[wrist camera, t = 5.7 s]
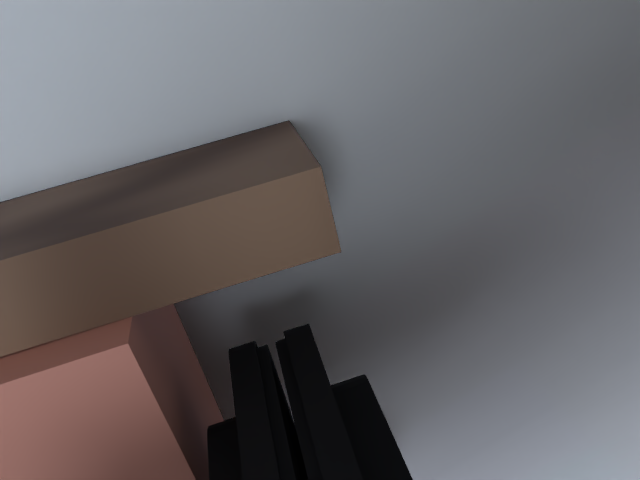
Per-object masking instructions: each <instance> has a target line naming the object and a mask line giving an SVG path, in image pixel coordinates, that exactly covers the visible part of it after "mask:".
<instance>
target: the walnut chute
mask: <svg viewBox="0 0 640 480" xmlns="http://www.w3.org/2000/svg"><path fill="white" fill-rule="evenodd" d="M340 252H341V248H340V244H339V240H338V235H337V231H336V227H335V223H334V219H333V215H332V210H331V206H330V202H329V198H328V194H327V189H326V185H325V181H324V177H323V173H322V169H321V166H320V164H319V163H318V161H317V160H316V159H315V157H314V156H313V154H312V153H311V151H310V150H309V149H308V147H307V146H306V144H305V143H304V141H303V140H302V138H301V137H300V136H299V134H298V133H297V131H296V130H295V128H294V127H293V126H292V124H291V123H290V121H286V122H282V123H279V124H275V125H272V126H268V127H265V128H261V129H258V130H254V131H251V132H247V133H244V134H240V135H237V136H233V137H230V138H226V139H222V140H219V141H215V142H212V143H208V144H205V145H201V146H198V147H194V148H191V149H187V150H184V151H180V152H177V153H173V154H170V155H166V156H163V157H159V158H156V159H152V160H149V161H145V162H142V163H138V164H134V165H131V166H127V167H124V168H120V169H117V170H113V171H110V172H106V173H103V174H99V175H96V176H92V177H89V178H85V179H82V180H78V181H75V182H71V183H68V184H64V185H61V186H57V187H54V188H50V189H46V190H43V191H39V192H36V193H32V194H29V195H25V196H22V197H18V198H15V199H11V200H8V201H4V202H1V203H0V357H2V356H5V355H8V354H11V353H15V352H18V351H21V350H24V349H28V348H31V347H34V346H37V345H41V344H44V343H47V342H50V341H54V340H57V339H60V338H63V337H67V336H70V335H73V334H76V333H80V332H83V331H86V330H89V329H93V328H96V327H99V326H102V325H106V324H109V323H112V322H115V321H119V320H122V319H125V318H128V317H132V316H135V315H138V314H141V313H145V312H148V311H151V310H154V309H158V308H161V307H164V306H167V305H171V304H174V303H177V302H180V301H184V300H187V299H190V298H193V297H197V296H200V295H203V294H206V293H210V292H213V291H216V290H219V289H223V288H226V287H229V286H232V285H236V284H239V283H242V282H245V281H249V280H252V279H255V278H258V277H262V276H265V275H268V274H271V273H275V272H278V271H281V270H284V269H288V268H291V267H294V266H297V265H301V264H304V263H307V262H310V261H314V260H317V259H320V258H323V257H327V256H330V255H333V254H336V253H340Z"/></svg>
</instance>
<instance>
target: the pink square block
mask: <svg viewBox="0 0 640 480" xmlns="http://www.w3.org/2000/svg"><path fill="white" fill-rule="evenodd" d="M222 421H224V419H223V417H222V414H221V412H220V410H219V407H218V405H217V403H216V401H215V398H214V396H213V394H212V391H211V389H210V387H209V384H208V382H207V380H206V377H205V375H204V373H203V371H202V368H201V366H200V364H199V361H198V359H197V357H196V354H195V352H194V350H193V347H192V345H191V343H190V341H189V338H188V336H187V334H186V331H185V329H184V327H183V324H182V322H181V320H180V317H179V315H178V313H177V311H176V308H175V306H174V304H171V305H167V306H164V307H161V308H158V309H154V310H151V311H148V312H145V313H141V314H138V315H135V316H132V317H128V318H125V319H122V320H119V321H115V322H112V323H109V324H106V325H102V326H99V327H96V328H93V329H89V330H86V331H83V332H80V333H76V334H73V335H70V336H67V337H63V338H60V339H57V340H54V341H50V342H47V343H44V344H41V345H37V346H34V347H31V348H28V349H24V350H21V351H18V352H15V353H11V354H8V355H5V356H2V357H0V480H209V468H208V446H207V429H208V426H210V425H213V424H216V423H219V422H222Z"/></svg>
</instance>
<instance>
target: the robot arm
mask: <svg viewBox="0 0 640 480" xmlns="http://www.w3.org/2000/svg"><path fill="white" fill-rule="evenodd" d="M284 336H285V339H283V340H279V341H276V342H275V343H276V348H277V352H278V356H279V360H280V364H281V368H282V373H283V377H284V381H285V385H286V389H287V393H288V398H289V402H290V406H291V410H292V414H293V418H294V421H293V418H292V415H291V412H290V409H289V406H288V403H287V400H286V397H285V394H284V392H283V389H282V386H281V383H280V380H279V377H278V374H277V371H276V368H275V365H274V362H273V359H272V356H271V353H270V351H269V348H268V345H264V346H261V347H257V344H256V342H255V341H253V342H250V343H246V344H243V345H240V346H237V347H234V348H231V349H229V361H230V370H231V379H232V388H233V397H234V406H235V415H236V417H234V418H231V419H228V420H225V421H222V422H219V423H216V424H213V425H210V426H208V429H207V446H208V468H209V480H413V479H412V477H411V475H410V473H409V470H408V468H407V466H406V464H405V461H404V459H403V457H402V455H401V452H400V450H399V448H398V446H397V443H396V441H395V439H394V437H393V435H392V432H391V430H390V428H389V426H388V423H387V421H386V419H385V417H384V414H383V412H382V410H381V408H380V405H379V403H378V401H377V399H376V396H375V394H374V392H373V390H372V388H371V385H370V383H369V381H368V379H367V377H366V375H365V374H364V375H361V376H358V377H355V378H352V379H349V380H346V381H343V382H340V383H337V384H334V385H331V386H330V383H329V380H328V377H327V374H326V371H325V369H324V366H323V363H322V360H321V357H320V354H319V351H318V348H317V346H316V343H315V340H314V337H313V334H312V331H311V328H310V326H309V324H306V325H303V326H300V327H296V328H293V329H290V330H287V331H284ZM294 423H295V424H294Z"/></svg>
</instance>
